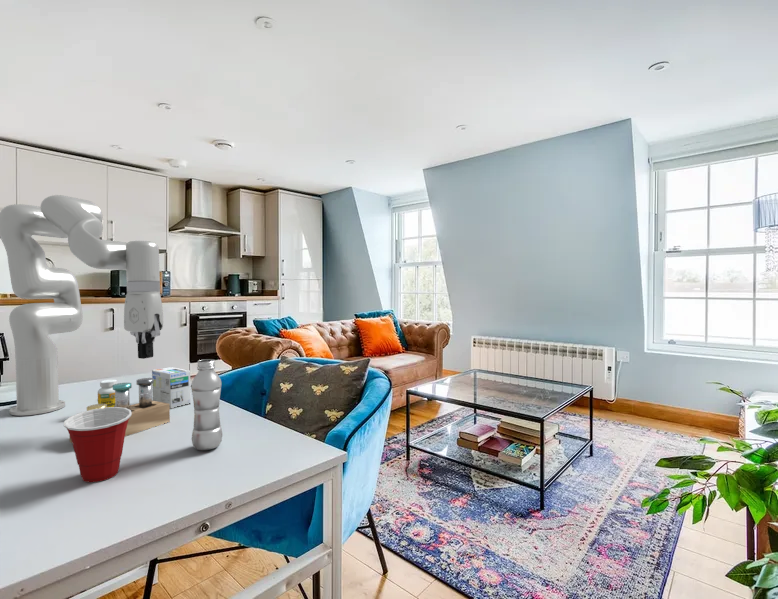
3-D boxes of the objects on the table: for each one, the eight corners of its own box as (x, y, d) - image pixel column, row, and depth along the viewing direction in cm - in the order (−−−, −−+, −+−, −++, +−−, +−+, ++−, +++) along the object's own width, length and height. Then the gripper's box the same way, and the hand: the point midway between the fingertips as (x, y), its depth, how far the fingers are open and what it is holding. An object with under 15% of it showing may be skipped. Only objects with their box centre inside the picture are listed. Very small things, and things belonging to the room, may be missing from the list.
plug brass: (83, 438, 98) (82, 407, 98) (101, 433, 102) (100, 402, 102) (93, 441, 97) (92, 409, 96) (111, 435, 100) (110, 405, 100)
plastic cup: (56, 494, 73) (54, 427, 73) (74, 469, 83) (73, 410, 83) (128, 483, 77) (126, 419, 77) (137, 460, 87) (136, 404, 87)
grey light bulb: (133, 408, 109) (133, 380, 109) (148, 404, 113) (147, 377, 112) (143, 410, 107) (142, 381, 107) (157, 406, 111) (157, 378, 111)
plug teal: (109, 414, 104) (109, 385, 103) (125, 410, 107) (125, 381, 107) (119, 417, 102) (118, 387, 102) (135, 412, 105) (134, 383, 105)
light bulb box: (191, 404, 129) (191, 369, 129) (170, 409, 123) (169, 373, 123) (172, 398, 135) (171, 366, 134) (151, 403, 129) (150, 369, 129)
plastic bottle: (192, 456, 90) (190, 364, 89) (191, 445, 96) (189, 359, 95) (224, 450, 93) (223, 362, 92) (221, 440, 99) (220, 357, 98)
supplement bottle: (120, 410, 123) (119, 378, 122) (120, 414, 118) (120, 381, 118) (98, 413, 120) (97, 380, 119) (97, 418, 115) (96, 384, 115)
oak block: (69, 442, 98) (69, 421, 97) (150, 417, 115) (150, 400, 115) (89, 448, 94) (88, 426, 94) (169, 422, 112) (169, 403, 112)
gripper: (111, 288, 109) (114, 358, 109) (148, 288, 102) (150, 362, 103) (139, 288, 115) (141, 353, 116) (175, 288, 109) (177, 357, 109)
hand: (145, 357), depth 109 cm, fingers closed
